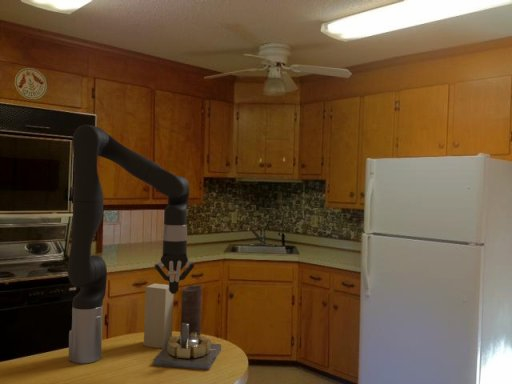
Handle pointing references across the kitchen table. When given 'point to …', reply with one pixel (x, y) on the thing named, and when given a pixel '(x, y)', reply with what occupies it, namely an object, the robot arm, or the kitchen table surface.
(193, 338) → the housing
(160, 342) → the light grey tall block
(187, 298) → the candle
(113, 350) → the kitchen table surface
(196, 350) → the tan block ring
